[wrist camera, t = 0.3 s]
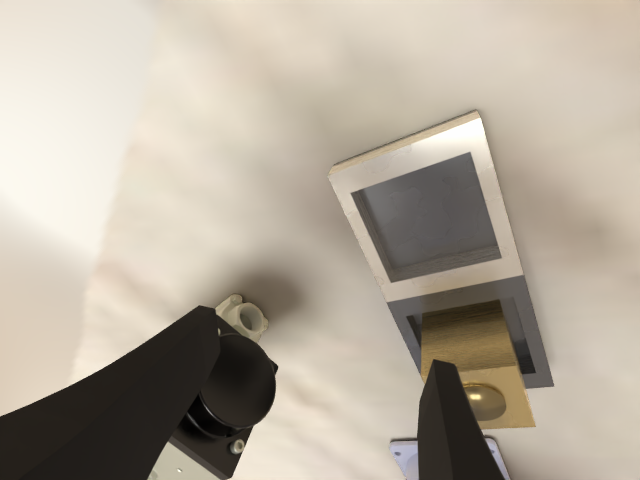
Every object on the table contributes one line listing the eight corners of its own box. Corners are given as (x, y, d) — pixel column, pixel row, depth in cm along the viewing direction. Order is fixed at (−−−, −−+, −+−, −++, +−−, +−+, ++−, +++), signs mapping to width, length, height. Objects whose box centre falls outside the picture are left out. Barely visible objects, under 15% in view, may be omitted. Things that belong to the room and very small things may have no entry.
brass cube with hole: (515, 348, 22) (536, 430, 17) (443, 357, 24) (446, 434, 19) (497, 293, 20) (516, 369, 16) (422, 307, 22) (420, 379, 18)
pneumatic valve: (316, 302, 24) (238, 502, 14) (220, 364, 30) (119, 535, 20) (254, 244, 23) (122, 419, 13) (167, 321, 29) (32, 481, 19)
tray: (546, 364, 22) (554, 386, 21) (430, 376, 25) (430, 396, 24) (476, 109, 16) (480, 117, 15) (334, 164, 19) (327, 175, 18)
